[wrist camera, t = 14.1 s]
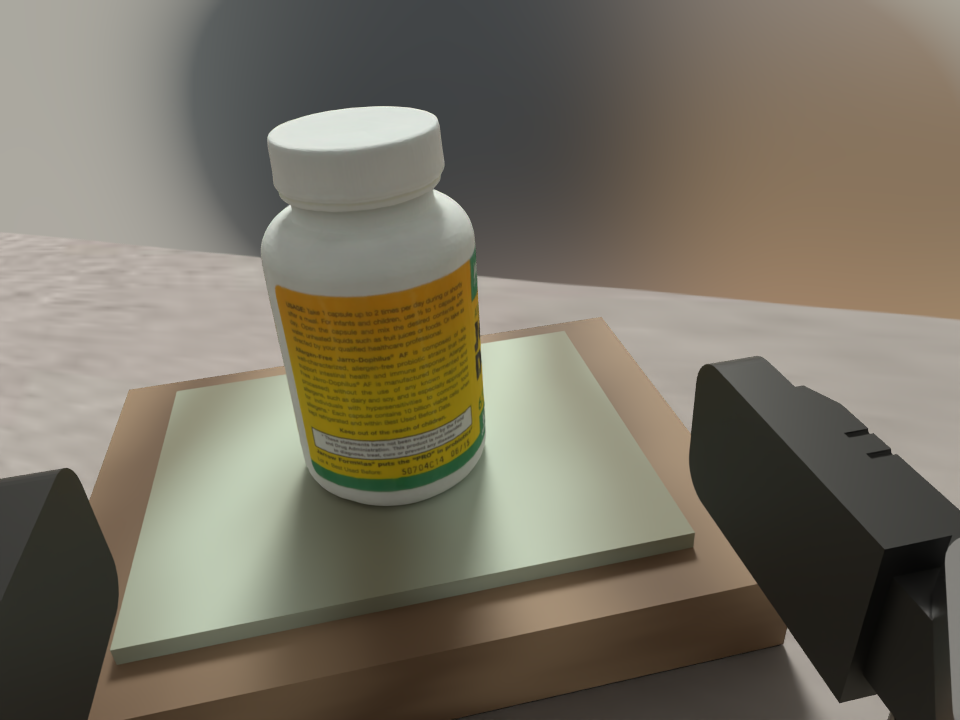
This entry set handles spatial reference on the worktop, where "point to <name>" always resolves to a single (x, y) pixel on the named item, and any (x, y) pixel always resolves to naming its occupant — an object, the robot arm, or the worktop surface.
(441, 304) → the supplement bottle
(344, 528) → the brown flat wooden block
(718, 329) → the worktop surface
